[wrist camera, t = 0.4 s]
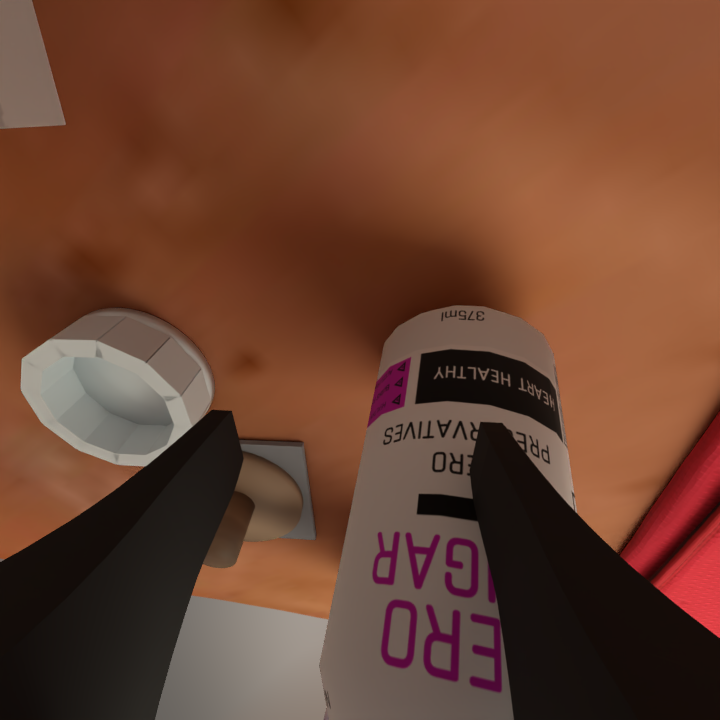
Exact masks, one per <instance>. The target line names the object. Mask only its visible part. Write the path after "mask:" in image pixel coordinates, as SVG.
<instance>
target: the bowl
mask: <svg viewBox="0 0 720 720" xmlns="http://www.w3.org/2000/svg"><path fill="white" fill-rule="evenodd" d="M21 390H22V391H21V392H22V393H23V395H24V396H25V398H26V399H27V401H28V403H29V404H30V406H31V407H32V409H33V410H34V412H35V413H36V415H37V416H38V418H39V420H40V421H41V423H43V425H45V426H46V427H47V428H49V429H50V430H51V431H53V432H54V433H55V434H57V435H58V436H59V437H61V438H62V439H64V440H65V441H66V442H68V443H69V444H70V445H72V446H73V447H74V448H76V449H78V450H79V451H82V452H85V453H87V454H90V455H93V456H95V457H98V458H100V459H103V460H106V461H108V462H111V463H114V464H116V465H117V464H118V465H129V466H147V465H148V464H149V463H151V462H152V461H153V460H154V459H155V458H157V457H158V456H159V455H160V454H161V453H162V452H164V451H165V450H166V449H167V448H168V447H170V446H171V445H172V444H173V443H174V442H175V441H177V440H178V439H179V438H180V437H181V436H182V435H184V434H185V433H186V432H187V431H188V430H189V429H190V428H192V427H193V426H194V425H195V424H196V423H197V422H198V421H200V420H201V419H202V418H203V417H204V416H205V414H206V412H207V411H208V409H209V407H210V405H211V404H212V401H213V398H214V393H215V382H214V377H213V373H212V371H211V368H210V366H209V364H208V362H207V360H206V358H205V357H204V355H203V354H202V352H201V351H200V350H199V349H198V347H197V346H196V345H195V344H194V343H193V342H192V341H191V340H190V339H189V338H188V337H187V336H186V335H184V334H183V333H182V332H181V331H179V330H178V329H177V328H175V327H174V326H172V325H171V324H169V323H167V322H165V321H163V320H162V319H160V318H157V317H155V316H153V315H150V314H148V313H144V312H141V311H138V310H133V309H128V308H105V309H99V310H96V311H93V312H90V313H88V314H87V315H85V316H83V317H81V318H80V319H78V320H77V321H75V322H74V323H72V324H71V325H69V326H68V327H67V328H65V329H64V330H62V331H61V332H59V333H58V334H56V335H55V336H53V337H52V338H50V339H49V340H47V341H46V342H45V343H43V344H42V345H40V346H39V347H38V348H36V349H35V350H33V351H32V352H31V353H29V354H28V355H26V356H25V357H24V358H22V366H21Z"/></svg>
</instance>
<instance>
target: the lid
mask: <svg viewBox="0 0 720 720" xmlns="http://www.w3.org/2000/svg"><path fill="white" fill-rule="evenodd" d="M242 453H243V457H244V460H243V463H242V467H241V471H240V474H239V478H238V481H237V484H236V487H235V490H234V493H233V495H232V498H231V500H230V502H229V505H228V507H227V509H226V512H225V514H224V516H223V518H222V521H221V523H220V525H219V528H218V530H217V532H216V534H215V537H214V539H213V541H212V544H211V546H210V548H209V550H208V553H207V555H206V557H205V559H204V562H203V564H205V565H207V566H210V567H215V568H228V567H231V566H233V565H234V564H235V563H236V561H237V558H238V555H239V552H240V549H241V546H242V544H243V541H247V542H258V541H268V540H272V539H276V538H279V537H282V536H284V535H286V534H288V533H289V532H290V531H292V530H293V529H294V528H295V527H296V525H297V524H298V523H299V520H300V518H301V513H302V509H303V496H302V492H301V490H300V488H299V486H298V484H297V483H296V481H295V480H294V479H293V478H292V477H291V476H290V475H289V474H288V473H287V472H286V471H285V470H283V469H282V468H281V467H279V466H278V465H276V464H275V463H273V462H271V461H269V460H267V459H265V458H263V457H260V456H258V455H255V454H252V453H248V452H245V451H242Z"/></svg>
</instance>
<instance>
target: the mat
mask: <svg viewBox="0 0 720 720" xmlns="http://www.w3.org/2000/svg"><path fill="white" fill-rule="evenodd" d="M239 442H240V445H241V449H242V451H245V452H248V453H252V454H255V455H258V456H260V457H263V458H265V459H267V460H269V461H271V462H273V463H275V464H276V465H278V466H279V467H281V468H282V469H283V470H285V471H286V472H287V473H288V474H289V475H290V476H291V477H292V478H293V479H294V480H295V481H296V483H297V484H298V486H299V488H300V490H301V492H302V496H303V509H302V513H301V518H300V520H299V523H298V524H297V525H296V527H295V528H294V529H293V530H292V531H290V532H289V533H288V534H286V535H284V536H282V537H279V538H291V539H307V540H316V529H315V522H314V515H313V507H312V500H311V493H310V486H309V479H308V471H307V464H306V457H305V450H304V443H303V442H281V441H257V440H239Z"/></svg>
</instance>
